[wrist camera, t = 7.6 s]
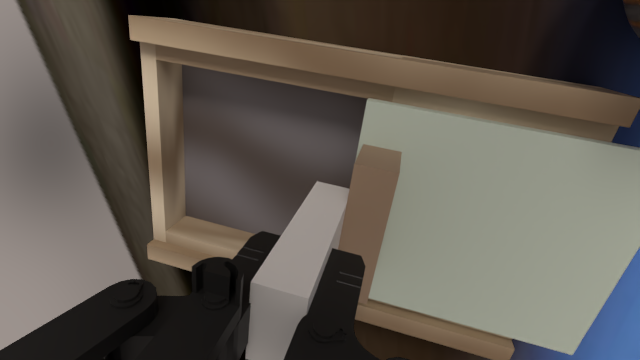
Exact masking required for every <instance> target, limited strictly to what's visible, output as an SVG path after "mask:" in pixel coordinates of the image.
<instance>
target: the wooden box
mask: <svg viewBox="0 0 640 360" xmlns="http://www.w3.org/2000/svg"><path fill="white" fill-rule="evenodd" d="M128 18H129V30H130V40H134V41H140V50H141V64H142V78H143V92H144V106H145V120H146V134H147V149H148V163H149V177H150V191H151V205H152V219H153V233H154V239H153V240H152V241H151V242H150V243H148V244H147V252H148V259H151V260H154V261H158V262H161V263H164V264H168V265H171V266H175V267H178V268H181V269H185V270H188V271H192V266H193V265H194V264H196V263H197V262H198V261H201V260H204V259H206V258H211V257H225V258H230V259H233V258H234V257H235V255H237V253H238V252H239V250H240V249H241V248H243V245H244V244H245V243H246V242H247V241H248V239H249V238H250V237H251V236H253V235H255V234H257V233H259V232H261V231H265V232H269V233H273V234H276V235H280V236H281V235H282V234H283V232H284V231H285V229H286V228H287V226H288V225H289V223H290V221H291V220H292V218H293V217H294V215H295V214H296V212H297V211H298V209H299V208H300V206H301V205H302V203H303V202H304V200H305V199H306V197H307V196H308V194H309V193H310V191H311V190H312V188H313V187H314V185H315V184H316V182H317V181H318V182H322V183H327V184H331V185H335V186H340V187H344V188H348V189H350V184H351V179H352V174H353V168H354V163H355V160H356V155H357V149H358V144H359V139H360V134H361V129H362V123H363V118H364V113H365V108H366V103H367V100H368V98H372V99H377V100H383V101H388V102H394V103H399V104H405V105H410V106H416V107H421V108H426V109H432V110H437V111H443V112H448V113H454V114H459V115H465V116H470V117H475V118H481V119H486V120H492V121H497V122H503V123H508V124H513V125H519V126H524V127H530V128H535V129H541V130H546V131H552V132H557V133H562V134H568V135H573V136H579V137H584V138H590V139H595V140H601V141H606V142H612V140H613V138H614V136H615V134H616V132H617V130H618V128H619V126H623V127H629V128H630V126H631V124H632V122H633V120H634V118H635V117H636V115H637V113H638V111H639V109H640V98H639V97H635V96H631V95H628V94H624V93H620V92H617V91H613V90H609V89H606V88H602V87H597V86H591V85H584V84H578V83H572V82H566V81H559V80H553V79H547V78H541V77H535V76H528V75H522V74H516V73H510V72H503V71H497V70H491V69H485V68H478V67H472V66H466V65H460V64H454V63H447V62H441V61H435V60H429V59H422V58H416V57H410V56H404V55H398V54H391V53H385V52H379V51H373V50H366V49H360V48H354V47H348V46H341V45H335V44H329V43H323V42H317V41H310V40H304V39H298V38H292V37H285V36H279V35H273V34H267V33H261V32H254V31H248V30H242V29H236V28H229V27H223V26H217V25H211V24H204V23H198V22H192V21H186V20H180V19H173V18H161V17H147V16H134V15H128ZM355 319H356V320H359V321H363V322H366V323H369V324H373V325H376V326H380V327H383V328H386V329H390V330H393V331H397V332H400V333H404V334H407V335H410V336H414V337H417V338H421V339H424V340H427V341H431V342H434V343H438V344H441V345H445V346H448V347H451V348H455V349H458V350H462V351H465V352H468V353H472V354H475V355H479V356H482V357H485V358H489V359H492V360H510V358H511V356H512V354H513V352H514V350H515V349H514V346H513V343H512V338H509V337H506V336H502V335H499V334H495V333H492V332H488V331H484V330H481V329H477V328H474V327H470V326H467V325H463V324H459V323H456V322H452V321H449V320H445V319H442V318H438V317H434V316H431V315H427V314H424V313H420V312H417V311H413V310H410V309H406V308H402V307H399V306H395V305H392V304H388V303H385V302H381V301H377V300H374V299H370V298H368V301H367V304H363V303H359V302H358V306H357V310H356V315H355Z"/></svg>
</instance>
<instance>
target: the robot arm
mask: <svg viewBox="0 0 640 360" xmlns="http://www.w3.org/2000/svg"><path fill="white" fill-rule="evenodd" d="M348 194H349V189H348V188H344V187H340V186H335V185H331V184H327V183H322V182H318V181H317V182H316V184H315V185H314V187H313V188H312V190H311V191H310V193H309V194H308V196H307V197H306V199H305V200H304V202H303V203H302V205H301V206H300V208H299V209H298V211H297V212H296V214H295V215H294V217H293V218H292V220H291V221H290V223H289V225H288V226H287V228H286V229H285V231H284V232H283V234H282V235H281V236H280V235H276V234H273V233H269V232H265V231H261V232H259V233H257V234H255V235H253V236H251V237H250V238H249V239H248V241H247V242H246V243H245V244H244V245H243V248H241V249H240V250H239V252H238V253H237V255H235V257H234V258H233V259H230V258H225V257H211V258H206V259H204V260H201V261H198V262H197V263H196V264H194V265H193V266H192V293H191V294H190V295H188V296H157V292H156V287H155V286H154V285H153V284H152V283H151V282H148V281H145V280H140V279H138V280H137V279H130V280H125V281H121V282H118V283H116V284H114V285H111V286H109V287H107V288H106V289H104V290H102V291H101V292H99V293H97V294H96V295H94V296H92V297H91V298H89V299H87V300H85V301H84V302H82V303H80V304H79V305H77V306H75V307H73V308H72V309H70V310H68V311H67V312H65V313H63V314H62V315H60V316H58V317H57V318H55V319H53V320H51V321H50V322H48V323H46V324H44V325H43V326H41V327H39V328H38V329H36V330H34V331H33V332H31V333H29V334H27V335H26V336H24V337H22V338H21V339H19V340H17V341H16V342H14V343H12V344H11V345H9V346H7V347H5V348H4V349H2V350H0V360H239V359H240V357H241V355H242V353H243V351H244V349H245V348H246V357H245V359H248V360H380V359H378V358H376V357H375V356H373V355H372V354H370V353H369V352H368V351H367V350H365V349H364V348H363V347H362V345H361V344H360V343H359V342H358V340H357V338H356V336H355V332H354V320H355V315H356V310H357V306H358V301H359V296H360V291H361V286H362V281H363V277H364V272H365V264H364V261H363V259H362V256H361V255H357V254H353V253H349V252H345V251H342V250H338V247H339V241H340V236H341V231H342V226H343V221H344V215H345V210H346V205H347V200H348ZM387 360H408V359H405V358H401V357H395V358H388V359H387Z"/></svg>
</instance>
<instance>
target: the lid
mask: <svg viewBox="0 0 640 360" xmlns="http://www.w3.org/2000/svg"><path fill="white" fill-rule="evenodd" d="M639 247H640V148H639V147H633V146H628V145H622V144H617V143H611V142H606V141H601V140H595V139H590V138H584V137H579V136H573V135H568V134H562V133H557V132H552V131H546V130H541V129H535V128H530V127H524V126H519V125H513V124H508V123H503V122H497V121H492V120H486V119H481V118H475V117H470V116H465V115H459V114H454V113H448V112H443V111H437V110H432V109H426V108H421V107H416V106H410V105H405V104H399V103H394V102H388V101H383V100H377V99H372V98H368V100H367V103H366V108H365V113H364V118H363V123H362V129H361V134H360V139H359V144H358V149H357V155H356V160H355V163H354V168H353V174H352V179H351V184H350V189H349V194H348V200H347V205H346V210H345V215H344V221H343V226H342V231H341V236H340V241H339V247H338V250H342V251H345V252H349V253H353V254H357V255H361V256H362V259H363V261H364V264H365V272H364V277H363V281H362V286H361V291H360V296H359V301H358V302H359V303H363V304H367V301H368V298H370V299H374V300H377V301H381V302H385V303H388V304H392V305H395V306H399V307H402V308H406V309H410V310H413V311H417V312H420V313H424V314H427V315H431V316H434V317H438V318H442V319H445V320H449V321H452V322H456V323H459V324H463V325H467V326H470V327H474V328H477V329H481V330H484V331H488V332H492V333H495V334H499V335H502V336H506V337H509V338H513V339H516V340H520V341H524V342H527V343H531V344H534V345H538V346H541V347H545V348H549V349H552V350H556V351H559V352H563V353H566V354H570V355H573V353H574V352H575V350H576V349H577V347H578V345H579V344H580V342H581V340H582V339H583V337H584V336H585V334H586V332H587V331H588V329H589V328H590V326H591V324H592V323H593V321H594V320H595V318H596V316H597V315H598V313H599V311H600V310H601V308H602V307H603V305H604V303H605V302H606V300H607V299H608V297H609V295H610V294H611V292H612V291H613V289H614V287H615V286H616V284H617V282H618V281H619V279H620V278H621V276H622V274H623V273H624V271H625V270H626V268H627V266H628V265H629V263H630V262H631V260H632V258H633V257H634V255H635V253H636V252H637V250H638V249H639Z"/></svg>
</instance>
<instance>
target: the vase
mask: <svg viewBox="0 0 640 360" xmlns="http://www.w3.org/2000/svg"><path fill="white" fill-rule="evenodd" d="M623 3H624V9H625V12H626V16H627V18H628V21H629V23H630V25H631V27H632V29H633V30H634V32H635V33H636V34H637V36H638V37H639V38H640V0H623Z"/></svg>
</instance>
